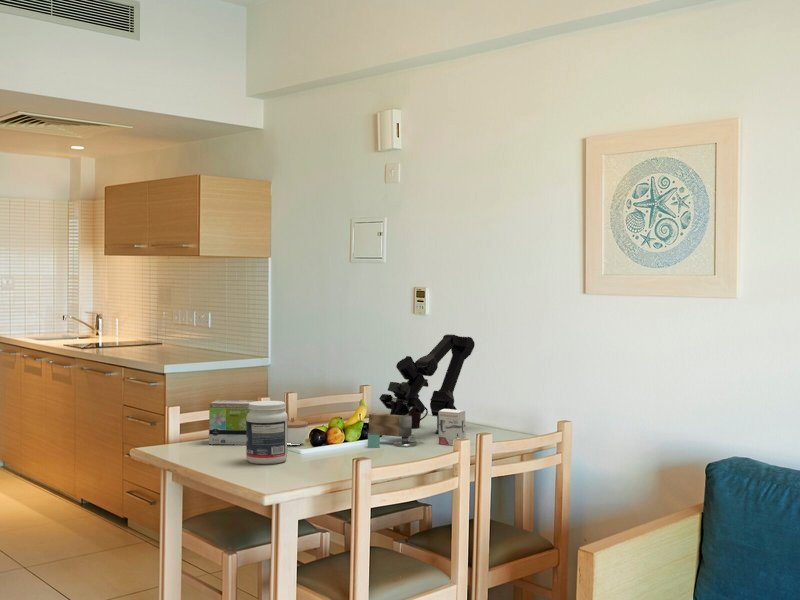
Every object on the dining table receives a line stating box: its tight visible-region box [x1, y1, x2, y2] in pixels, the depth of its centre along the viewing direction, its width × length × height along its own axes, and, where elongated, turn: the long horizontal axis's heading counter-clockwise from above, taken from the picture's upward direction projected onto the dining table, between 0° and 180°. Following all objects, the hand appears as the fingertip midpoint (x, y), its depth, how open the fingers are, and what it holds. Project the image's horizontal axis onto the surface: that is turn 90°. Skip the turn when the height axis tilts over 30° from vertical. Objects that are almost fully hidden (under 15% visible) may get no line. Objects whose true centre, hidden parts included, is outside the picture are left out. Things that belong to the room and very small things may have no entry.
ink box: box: [438, 409, 466, 446], centre depth 303 cm, size 9×5×12 cm, turn 62°
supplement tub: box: [245, 400, 289, 465], centre depth 271 cm, size 13×13×18 cm
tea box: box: [208, 399, 256, 446], centre depth 304 cm, size 15×10×15 cm, turn 92°
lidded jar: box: [287, 417, 309, 445], centre depth 301 cm, size 11×11×9 cm
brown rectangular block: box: [368, 413, 413, 438], centre depth 303 cm, size 16×4×7 cm, turn 64°
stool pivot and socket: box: [367, 432, 418, 449], centre depth 300 cm, size 11×17×4 cm, turn 84°
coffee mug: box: [407, 406, 429, 430], centre depth 338 cm, size 12×9×10 cm
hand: (389, 421), depth 305 cm, fingers closed
